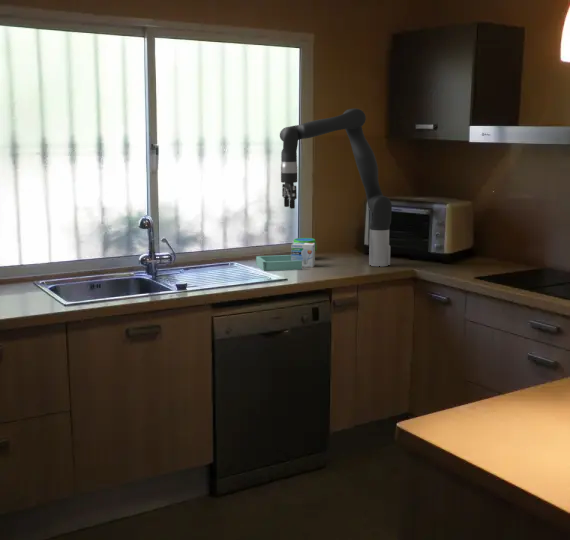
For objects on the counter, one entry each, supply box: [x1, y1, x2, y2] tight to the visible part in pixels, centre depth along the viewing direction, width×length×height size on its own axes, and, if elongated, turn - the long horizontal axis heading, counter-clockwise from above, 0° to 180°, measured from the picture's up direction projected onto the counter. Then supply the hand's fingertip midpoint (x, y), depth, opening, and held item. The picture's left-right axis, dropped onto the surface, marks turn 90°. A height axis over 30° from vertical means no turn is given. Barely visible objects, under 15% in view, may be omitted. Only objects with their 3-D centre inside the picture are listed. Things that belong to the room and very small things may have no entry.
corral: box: [255, 254, 303, 272], centre depth 356 cm, size 18×18×4 cm
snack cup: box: [293, 237, 318, 252], centre depth 377 cm, size 16×10×10 cm
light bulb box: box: [290, 242, 316, 268], centre depth 358 cm, size 11×7×11 cm, turn 80°
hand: (289, 207), depth 345 cm, fingers open, 8 cm apart
